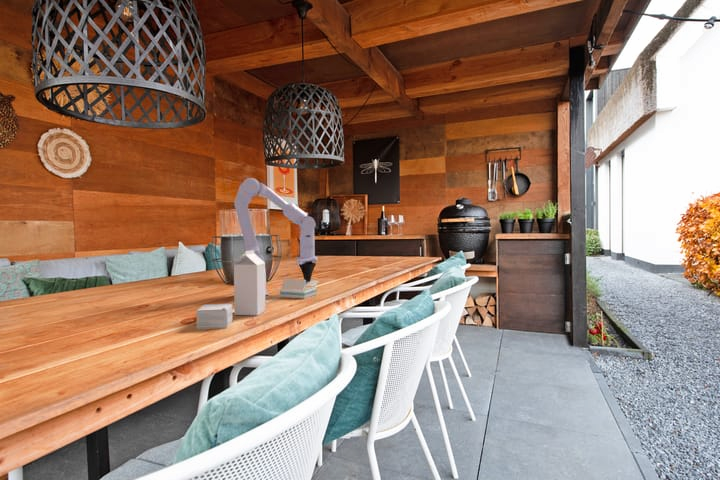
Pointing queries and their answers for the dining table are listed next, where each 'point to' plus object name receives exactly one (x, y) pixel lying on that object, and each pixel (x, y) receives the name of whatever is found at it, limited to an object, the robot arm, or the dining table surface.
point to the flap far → (311, 283)
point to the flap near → (293, 284)
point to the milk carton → (249, 285)
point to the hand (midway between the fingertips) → (307, 281)
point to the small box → (214, 316)
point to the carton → (298, 293)
